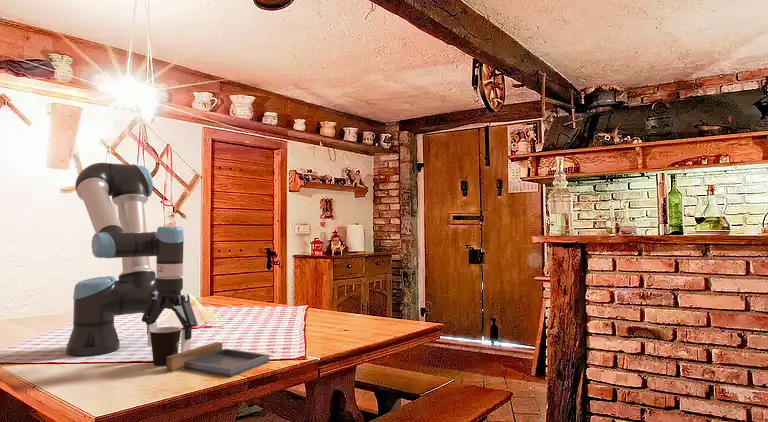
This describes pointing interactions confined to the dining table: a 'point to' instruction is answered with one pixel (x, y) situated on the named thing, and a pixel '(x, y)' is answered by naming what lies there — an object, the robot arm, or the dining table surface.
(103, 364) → the dining table surface
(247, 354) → the tray
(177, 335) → the coffee mug
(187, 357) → the brown long thin block
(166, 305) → the robot arm
